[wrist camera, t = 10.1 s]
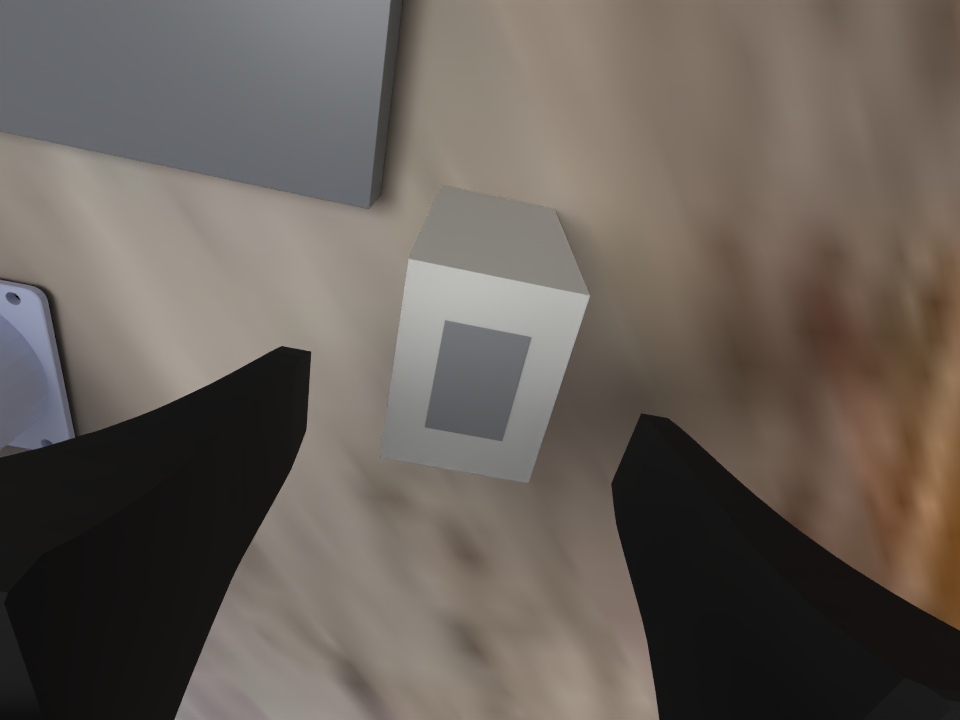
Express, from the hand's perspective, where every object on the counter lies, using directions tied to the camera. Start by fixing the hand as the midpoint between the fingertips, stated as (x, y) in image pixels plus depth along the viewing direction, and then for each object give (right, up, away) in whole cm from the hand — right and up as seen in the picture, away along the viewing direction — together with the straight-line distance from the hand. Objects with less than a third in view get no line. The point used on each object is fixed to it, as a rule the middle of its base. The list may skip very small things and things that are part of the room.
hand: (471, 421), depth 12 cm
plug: (0, +5, +8) cm, 10 cm away
